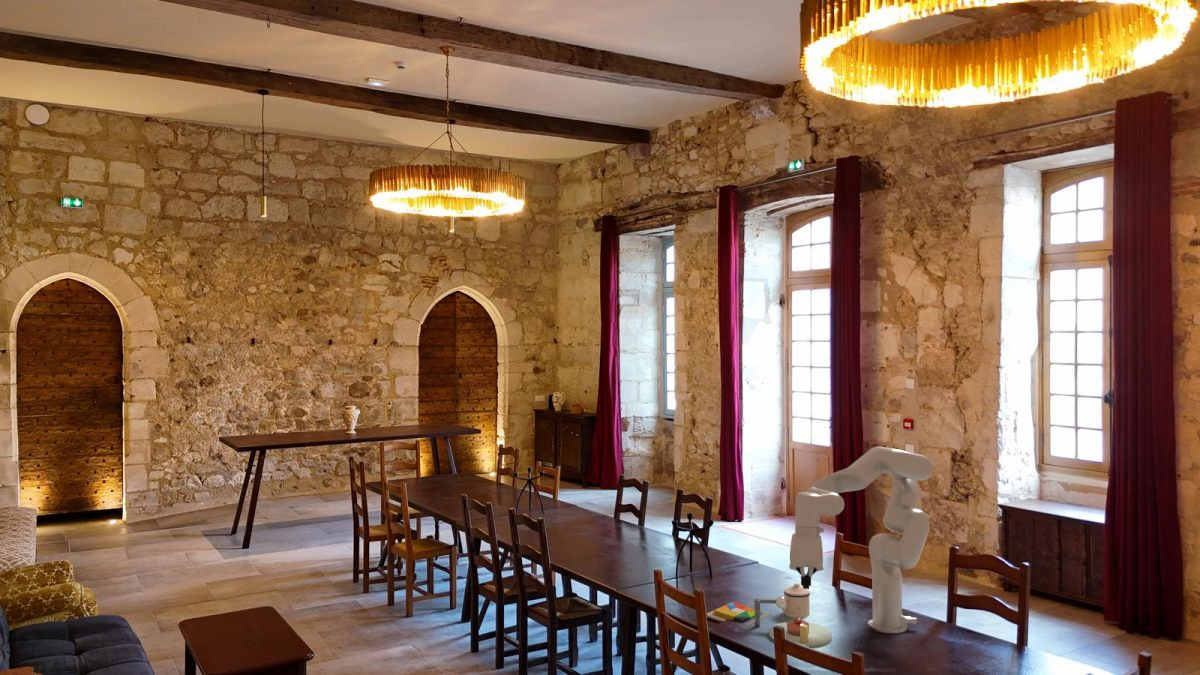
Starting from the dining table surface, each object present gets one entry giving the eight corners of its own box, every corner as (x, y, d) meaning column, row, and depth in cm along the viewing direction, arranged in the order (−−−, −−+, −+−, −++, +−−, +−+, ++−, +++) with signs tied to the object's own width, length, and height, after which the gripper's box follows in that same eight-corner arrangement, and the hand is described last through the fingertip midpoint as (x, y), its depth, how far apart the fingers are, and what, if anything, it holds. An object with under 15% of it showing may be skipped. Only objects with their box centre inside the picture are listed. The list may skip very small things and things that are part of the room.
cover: (806, 628, 286) (805, 614, 286) (811, 636, 279) (811, 621, 279) (784, 628, 286) (784, 615, 286) (789, 636, 279) (789, 622, 279)
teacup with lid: (797, 610, 311) (796, 578, 311) (815, 617, 304) (815, 584, 304) (772, 616, 305) (772, 584, 305) (790, 624, 297) (790, 590, 297)
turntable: (826, 626, 292) (825, 607, 292) (837, 648, 271) (836, 628, 271) (766, 625, 293) (765, 606, 293) (772, 647, 273) (772, 626, 273)
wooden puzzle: (747, 631, 292) (747, 621, 292) (700, 619, 305) (700, 609, 305) (773, 618, 305) (773, 608, 305) (727, 607, 318) (727, 597, 318)
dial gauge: (785, 627, 294) (785, 594, 294) (787, 632, 289) (787, 598, 289) (749, 626, 295) (749, 593, 295) (750, 631, 290) (750, 598, 290)
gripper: (828, 529, 281) (827, 585, 281) (782, 527, 283) (780, 583, 282) (832, 534, 274) (831, 592, 274) (785, 532, 275) (783, 590, 275)
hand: (805, 587), depth 278 cm, fingers closed
